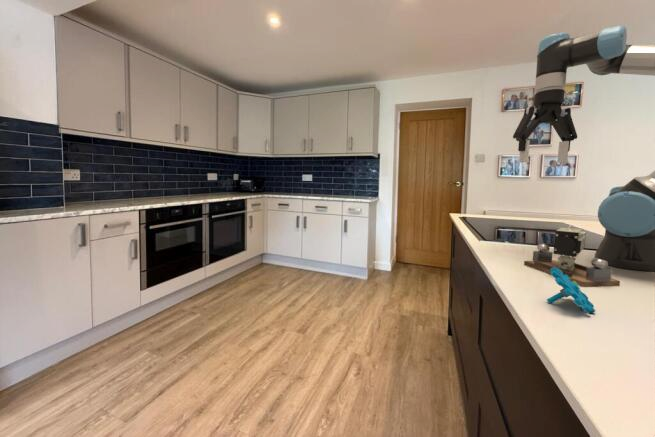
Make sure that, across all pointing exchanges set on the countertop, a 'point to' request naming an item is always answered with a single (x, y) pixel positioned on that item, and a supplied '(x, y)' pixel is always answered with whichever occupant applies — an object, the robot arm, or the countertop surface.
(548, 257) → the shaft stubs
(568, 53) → the robot arm
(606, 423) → the countertop surface
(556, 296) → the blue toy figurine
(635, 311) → the countertop surface
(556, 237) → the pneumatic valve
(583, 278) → the brown wooden board
